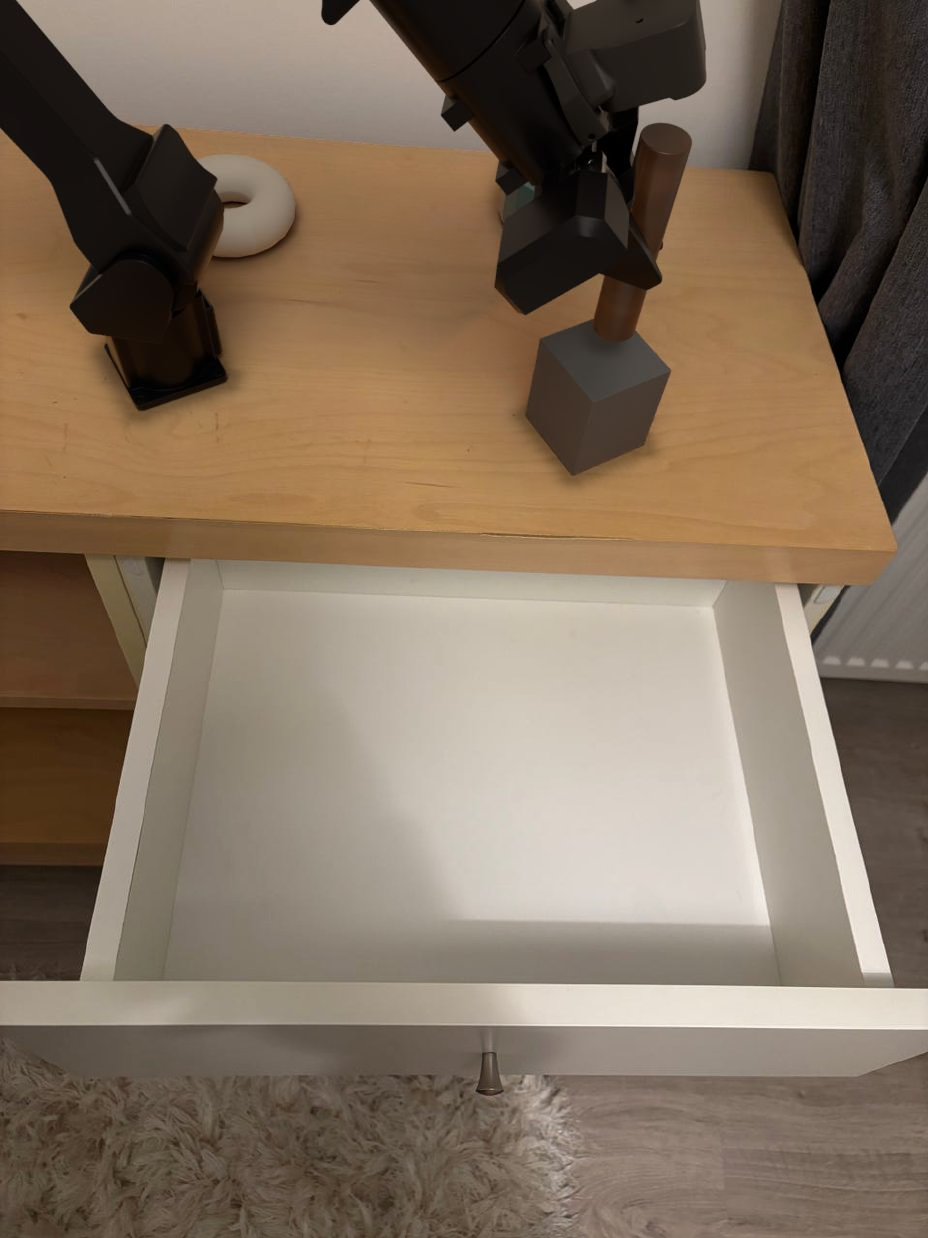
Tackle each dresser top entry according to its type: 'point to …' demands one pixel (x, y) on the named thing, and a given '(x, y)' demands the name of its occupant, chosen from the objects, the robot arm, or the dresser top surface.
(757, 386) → the dresser top surface
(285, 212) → the donut
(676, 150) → the stick
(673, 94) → the robot arm
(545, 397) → the cube
